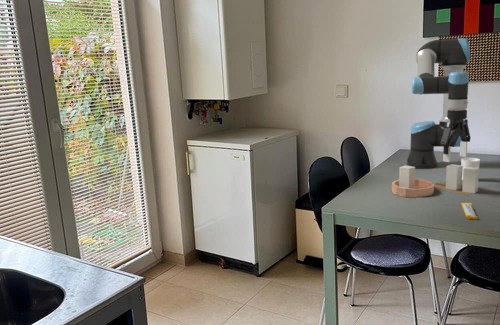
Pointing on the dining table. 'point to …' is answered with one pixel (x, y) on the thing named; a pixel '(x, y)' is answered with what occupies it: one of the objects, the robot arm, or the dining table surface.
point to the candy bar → (469, 211)
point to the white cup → (470, 163)
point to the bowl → (420, 189)
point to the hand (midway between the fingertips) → (454, 159)
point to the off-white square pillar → (470, 179)
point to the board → (443, 187)
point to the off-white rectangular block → (454, 177)
